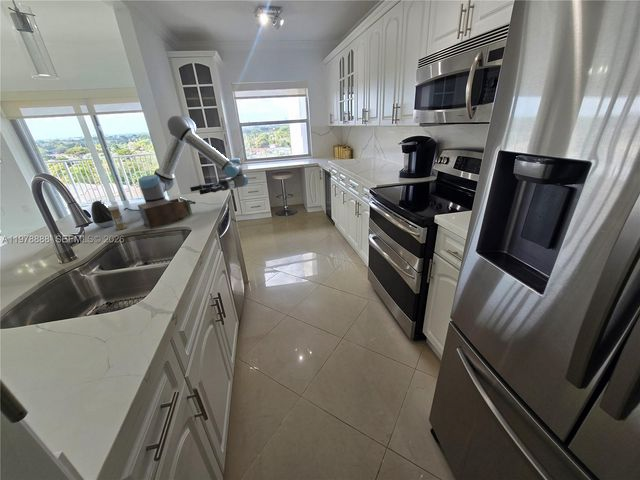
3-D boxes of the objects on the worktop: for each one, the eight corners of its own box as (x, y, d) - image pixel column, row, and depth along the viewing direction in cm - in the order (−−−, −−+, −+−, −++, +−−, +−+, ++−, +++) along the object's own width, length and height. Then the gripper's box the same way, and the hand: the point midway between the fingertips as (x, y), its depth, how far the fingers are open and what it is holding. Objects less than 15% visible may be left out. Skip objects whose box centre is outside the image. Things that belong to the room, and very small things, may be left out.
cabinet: (170, 216, 161) (164, 198, 156) (178, 221, 153) (172, 202, 148) (144, 223, 151) (137, 205, 146) (151, 228, 143) (144, 208, 138)
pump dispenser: (120, 221, 158) (110, 197, 151) (114, 227, 149) (103, 201, 142) (101, 224, 155) (90, 199, 148) (93, 230, 146) (81, 204, 139)
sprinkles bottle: (123, 229, 144) (114, 206, 138) (115, 230, 144) (105, 207, 138) (128, 226, 148) (119, 204, 143) (119, 227, 148) (110, 205, 142)
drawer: (192, 209, 169) (188, 195, 164) (199, 213, 161) (195, 198, 157) (162, 217, 157) (157, 202, 153) (169, 221, 150) (164, 205, 146)
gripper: (236, 192, 169) (205, 199, 155) (218, 187, 185) (188, 193, 171) (234, 180, 166) (202, 187, 152) (216, 176, 181) (185, 182, 168)
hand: (195, 190), depth 161 cm, fingers open, 13 cm apart
